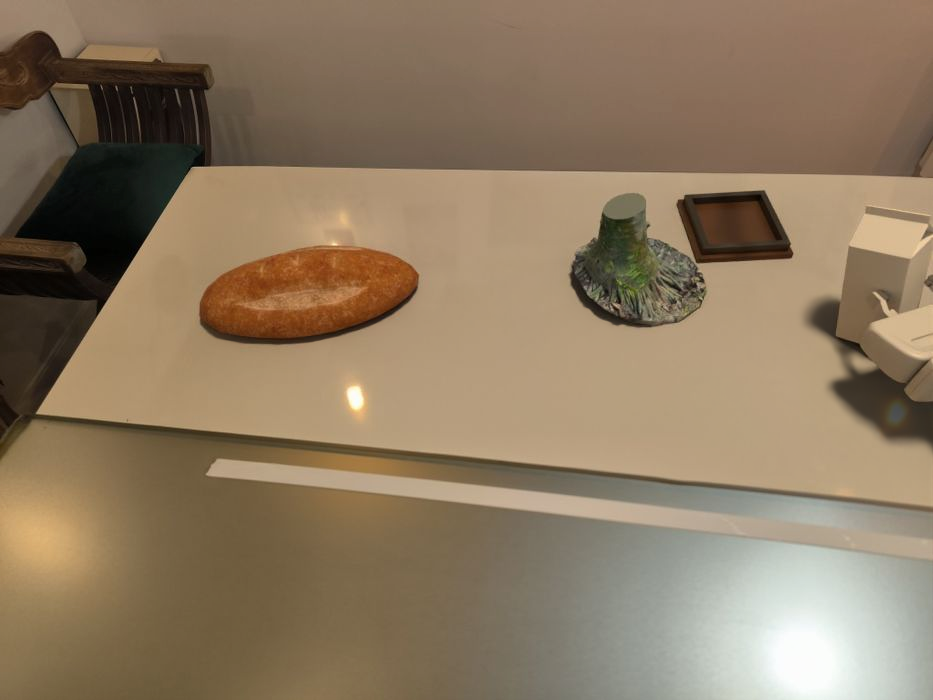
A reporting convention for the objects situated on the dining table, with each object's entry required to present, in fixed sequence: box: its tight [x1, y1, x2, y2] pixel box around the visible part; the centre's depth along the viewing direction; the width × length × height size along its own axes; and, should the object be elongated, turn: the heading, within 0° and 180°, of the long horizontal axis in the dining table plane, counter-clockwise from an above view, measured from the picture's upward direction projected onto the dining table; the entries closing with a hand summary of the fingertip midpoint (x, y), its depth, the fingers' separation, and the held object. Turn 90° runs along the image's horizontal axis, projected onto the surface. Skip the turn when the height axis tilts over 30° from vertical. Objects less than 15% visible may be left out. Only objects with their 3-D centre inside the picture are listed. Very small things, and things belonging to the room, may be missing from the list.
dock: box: [676, 189, 795, 264], centre depth 101 cm, size 15×15×2 cm
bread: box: [198, 244, 420, 339], centre depth 95 cm, size 18×35×9 cm, turn 97°
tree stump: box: [572, 192, 708, 327], centre depth 91 cm, size 18×20×18 cm
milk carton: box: [835, 204, 933, 345], centre depth 80 cm, size 7×7×19 cm
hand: (901, 285), depth 79 cm, fingers closed on milk carton, 7 cm apart
